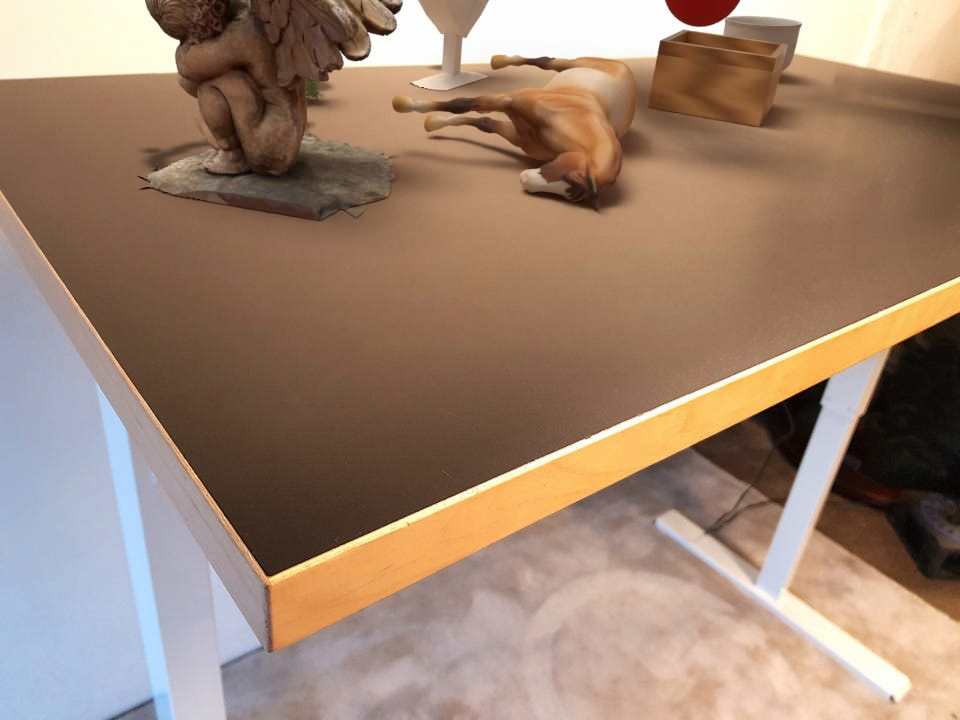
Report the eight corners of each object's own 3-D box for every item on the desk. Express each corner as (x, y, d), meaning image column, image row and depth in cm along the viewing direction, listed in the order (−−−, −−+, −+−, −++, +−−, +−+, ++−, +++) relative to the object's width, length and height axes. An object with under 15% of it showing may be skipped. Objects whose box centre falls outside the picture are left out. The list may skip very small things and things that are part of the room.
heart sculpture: (437, 93, 91) (447, -86, 82) (400, 85, 93) (406, -90, 84) (495, 74, 104) (509, -83, 94) (461, 68, 105) (472, -87, 96)
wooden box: (771, 107, 100) (788, 44, 97) (758, 127, 90) (776, 57, 86) (671, 90, 105) (683, 29, 101) (647, 107, 94) (659, 40, 90)
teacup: (776, 86, 114) (791, 26, 109) (703, 72, 118) (716, 14, 114) (799, 75, 124) (814, 20, 120) (732, 63, 129) (744, 9, 125)
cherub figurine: (243, 129, 72) (228, -99, 62) (432, 160, 68) (444, -76, 59) (115, 184, 57) (70, -104, 48) (348, 228, 53) (347, -73, 44)
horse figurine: (369, 177, 68) (599, 215, 60) (363, 82, 64) (609, 109, 56) (516, 109, 92) (693, 129, 84) (518, 37, 88) (704, 51, 80)
